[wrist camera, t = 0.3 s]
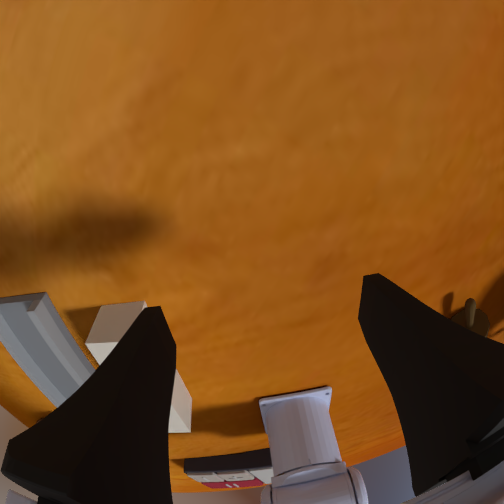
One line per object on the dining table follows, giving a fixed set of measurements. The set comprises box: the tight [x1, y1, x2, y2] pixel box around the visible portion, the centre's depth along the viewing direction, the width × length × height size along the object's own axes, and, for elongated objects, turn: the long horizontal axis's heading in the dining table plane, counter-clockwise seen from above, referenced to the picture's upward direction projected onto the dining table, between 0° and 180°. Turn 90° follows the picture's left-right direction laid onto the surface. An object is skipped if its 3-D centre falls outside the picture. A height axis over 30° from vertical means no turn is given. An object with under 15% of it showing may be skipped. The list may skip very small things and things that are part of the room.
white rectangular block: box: [85, 301, 192, 433], centre depth 23 cm, size 14×4×4 cm, turn 7°
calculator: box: [184, 448, 274, 488], centre depth 39 cm, size 11×4×15 cm
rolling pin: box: [451, 298, 490, 337], centre depth 30 cm, size 32×6×5 cm, turn 29°
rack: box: [0, 292, 96, 408], centre depth 24 cm, size 18×8×2 cm, turn 7°
